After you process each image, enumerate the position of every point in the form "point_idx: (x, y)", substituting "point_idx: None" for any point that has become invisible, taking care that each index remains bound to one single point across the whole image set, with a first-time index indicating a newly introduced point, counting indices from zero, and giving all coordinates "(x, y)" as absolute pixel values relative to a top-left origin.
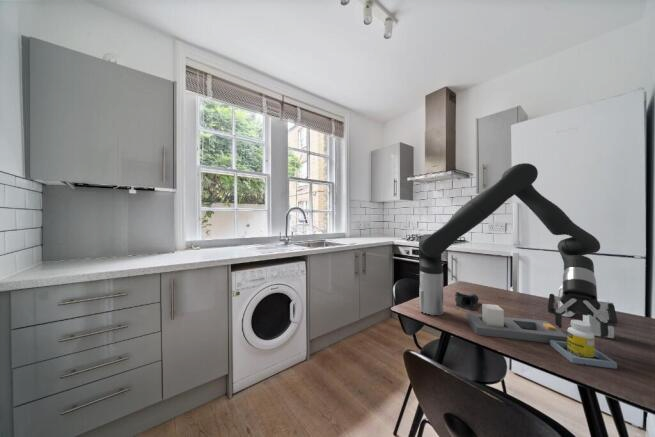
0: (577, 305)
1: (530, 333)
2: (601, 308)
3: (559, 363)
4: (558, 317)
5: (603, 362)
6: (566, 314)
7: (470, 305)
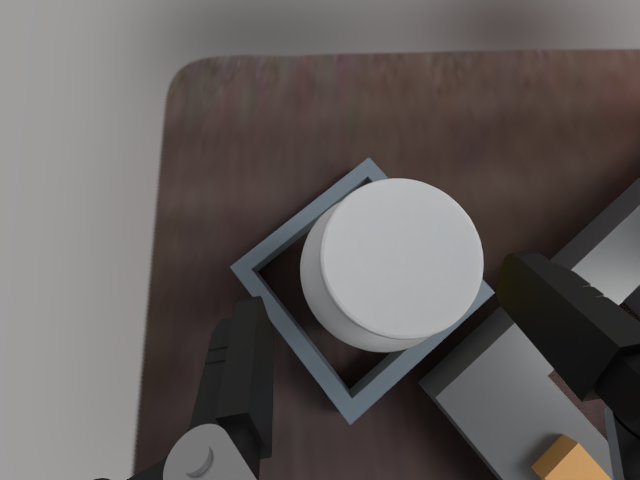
0: None
1: (589, 251)
2: None
3: (395, 123)
4: (596, 299)
5: (273, 232)
6: None
7: None
